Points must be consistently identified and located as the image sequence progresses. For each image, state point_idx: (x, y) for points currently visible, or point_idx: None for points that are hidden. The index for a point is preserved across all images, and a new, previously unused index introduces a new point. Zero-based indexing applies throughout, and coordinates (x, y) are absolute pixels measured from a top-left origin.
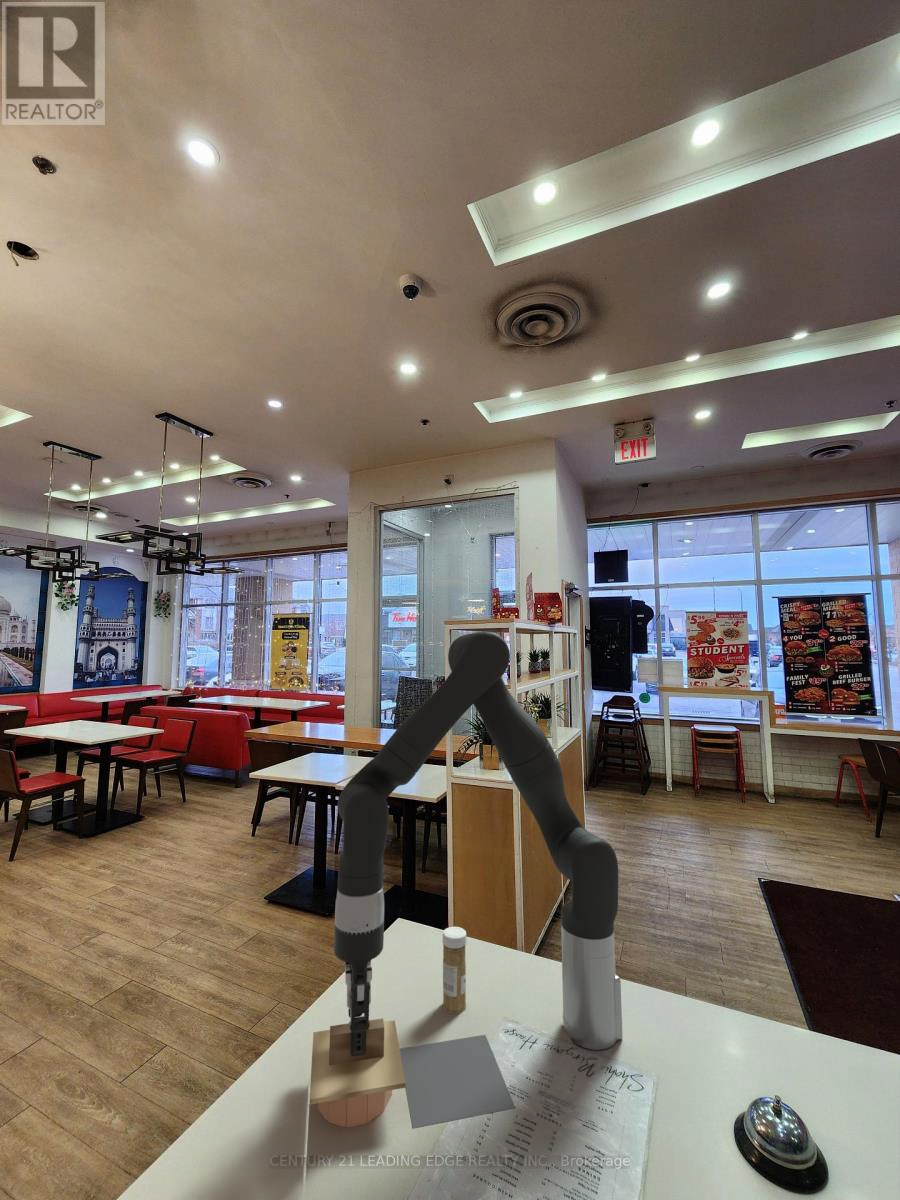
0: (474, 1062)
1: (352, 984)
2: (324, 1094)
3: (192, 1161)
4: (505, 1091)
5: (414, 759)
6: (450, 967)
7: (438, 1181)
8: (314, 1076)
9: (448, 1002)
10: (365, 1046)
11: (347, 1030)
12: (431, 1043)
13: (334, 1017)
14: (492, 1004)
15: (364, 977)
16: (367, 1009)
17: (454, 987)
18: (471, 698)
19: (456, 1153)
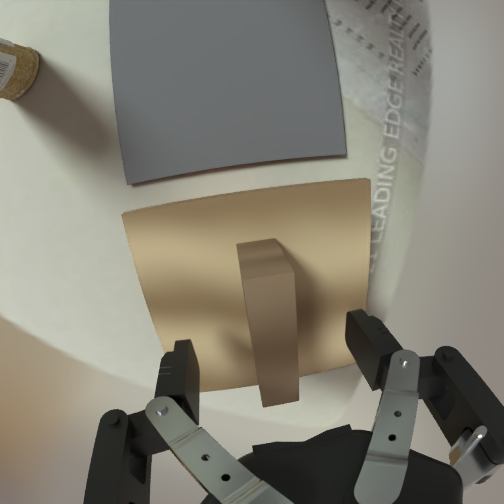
0: (189, 11)
1: (483, 481)
2: None
3: (317, 415)
4: None
5: None
6: None
7: (419, 126)
8: (308, 370)
9: (18, 79)
10: (366, 317)
11: (288, 372)
12: (115, 106)
13: (57, 323)
14: (28, 4)
15: (463, 483)
16: (486, 390)
17: (3, 58)
18: None
19: (385, 86)
